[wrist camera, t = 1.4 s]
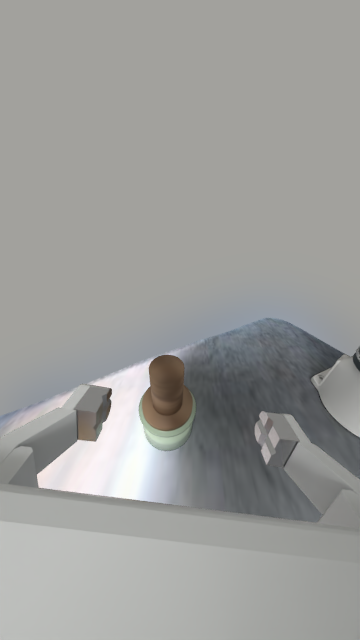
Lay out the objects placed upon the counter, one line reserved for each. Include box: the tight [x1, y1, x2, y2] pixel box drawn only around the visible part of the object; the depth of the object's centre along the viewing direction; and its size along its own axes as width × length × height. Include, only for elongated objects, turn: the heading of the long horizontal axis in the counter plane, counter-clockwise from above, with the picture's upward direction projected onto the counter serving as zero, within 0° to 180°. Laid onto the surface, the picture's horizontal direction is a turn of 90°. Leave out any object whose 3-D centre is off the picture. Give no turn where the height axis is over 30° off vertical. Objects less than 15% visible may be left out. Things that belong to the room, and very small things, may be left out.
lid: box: [142, 355, 193, 431], centre depth 28 cm, size 8×8×9 cm
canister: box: [139, 389, 196, 451], centre depth 32 cm, size 10×10×6 cm
